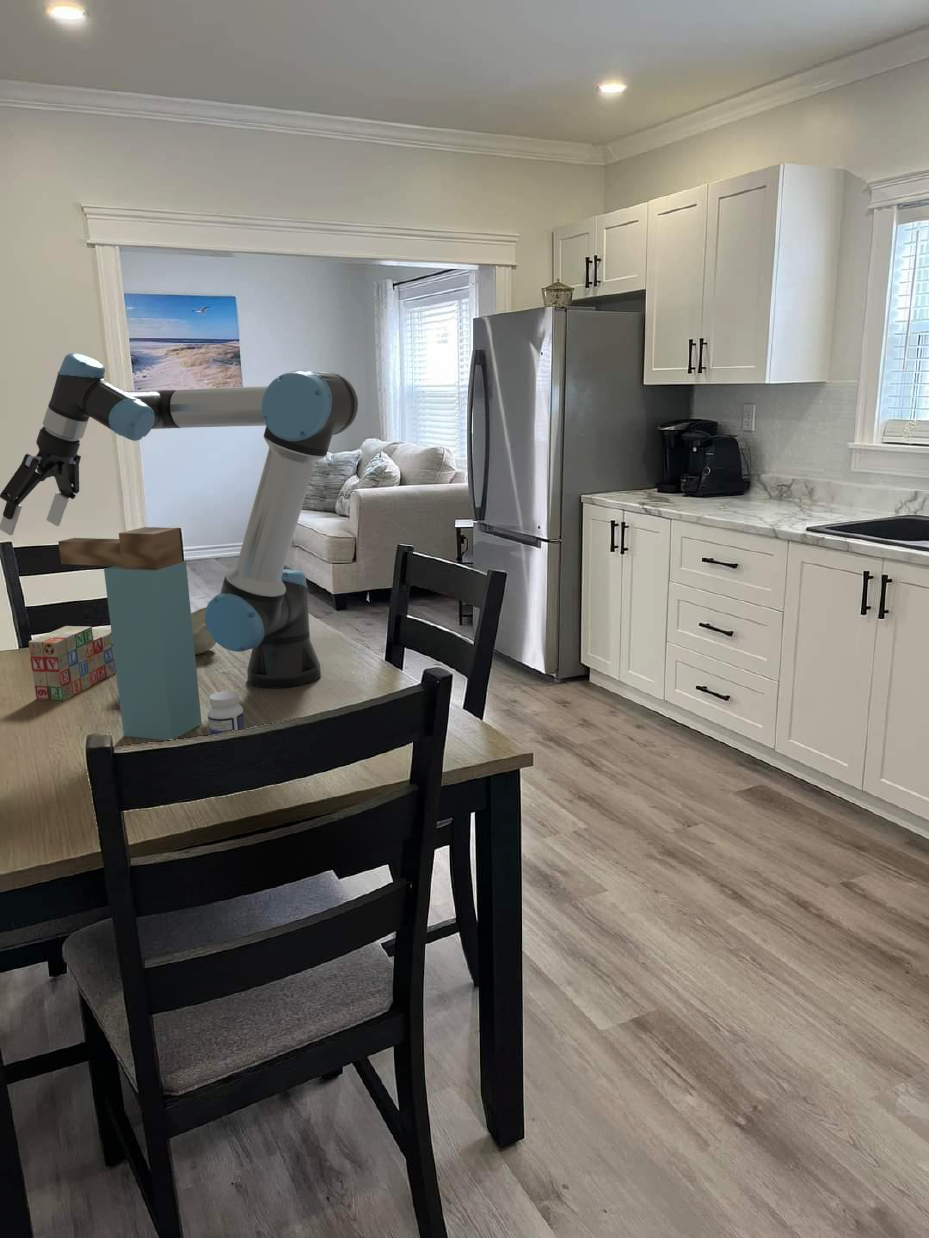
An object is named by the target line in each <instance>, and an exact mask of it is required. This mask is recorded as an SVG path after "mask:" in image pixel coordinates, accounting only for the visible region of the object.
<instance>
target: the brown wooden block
mask: <svg viewBox="0 0 929 1238" xmlns="http://www.w3.org/2000/svg"><path fill="white" fill-rule="evenodd" d="M180 533H181V532H180V528H179V527H154V526H153V527H152V526H151V527H149V526H144V527H138V528H136V529H135V528H134V529H132V530H127V531H122V532H118V538H96V537H95V538H94V537H93V538H91V537H90V538H88V537H87V538H86V537H73V538H68V539H63V540H59V541H57V542H58V550H59V557H60V564H61V565H76V566H77V565H79V566H100V567H101V566H102V567H103V566H106V567H112V566H122V568H126V569H150V570H159V569H162V568H165V567H169V566H172V565H175V564H179V563H182V561H183V553H182V552H183V551H182V544H181V534H180Z"/></svg>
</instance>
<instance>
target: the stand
mask: <svg viewBox="0 0 929 1238" xmlns="http://www.w3.org/2000/svg"><path fill="white" fill-rule="evenodd" d="M187 569H188V567H187V561H183V560H182V563H179V564H175V565H172V566H169V567H165V568H162V569H159V570H150V569H126V568H122V566H108V567H106V568H104V569H103V571H104V572H103V573H104V582H105V589H106V598H107V605H108V614H109V615H108V616H109V623H110V629H111V633H112V641H113V650H114V658H115V666H116V673H115V674H116V681H117V691H118V698H119V707H120V716H121V722H122V723H121V724H122V731H123V733H122V734H123V737H130V738H131V737H132V738H140V739H141V738H142V739H150V740H160V741H167V740H169V739H175V740H176V739H178V738H179V737H178V736H180V737H182V736H183V735H185V734H187V733H188V732H190V731H191V730H193V729H195V728H196V727H198V726H199V725H201V724H203V723H202V722H203V721H202V714H201V701H200V694H199V693H200V691H199V682H198V671H197V661H196V654H195V650H194V639H193V629H192V619H191V613H192V610H191V600H190V590H189V588H190V587H189V581H188V580H189V578H188V570H187Z"/></svg>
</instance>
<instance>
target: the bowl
mask: <svg viewBox="0 0 929 1238" xmlns="http://www.w3.org/2000/svg"><path fill="white" fill-rule="evenodd" d="M205 610H206V607H203V608H200V609H198V610H195V611H193V612H191V619H192V629H193V639H194V650H195V655H202V654H203V653H205V652H209V650H211V649H212V648H214V646H215V645H216V644H217V642H216V641H215V640H214V639H213V638H212V635H211V634H210V632H209V631H208V630H207V627H206V623H205Z"/></svg>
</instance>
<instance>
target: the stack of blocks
mask: <svg viewBox="0 0 929 1238" xmlns="http://www.w3.org/2000/svg"><path fill="white" fill-rule="evenodd" d="M28 648H29V655H30V657H29V658H30V664H31V670H32V676H33V681H34V682H33V683H34V691H35V697H36V698H35V699H36V700H40V699H48V700H47V701H62V702H63V701H66V700H68V699H69V698H72V697H74V696H75V695H78V694H79V693H81V692H83V691H85V690H87V689H90V688H91V687H93V686H94V685H96V684H98V683H100V682H101V681H103V680H105V679H108V678H109V677H111V676H113V675H115V674H116V666H115V658H114V650H113V641H112V633H111V628H110V629H109V628H106V629H102V628H101V629H100V628H93V627H92V626H84V625H83V626H80V625H79V626H78V625H77V626H73V625H64V626H62V627H60V628H58V629H56V630H53V631H50V632H49V633H46V634H44V635H42V636H40V637H39V636H38V637H36V638H34V639H31V640H28Z"/></svg>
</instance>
